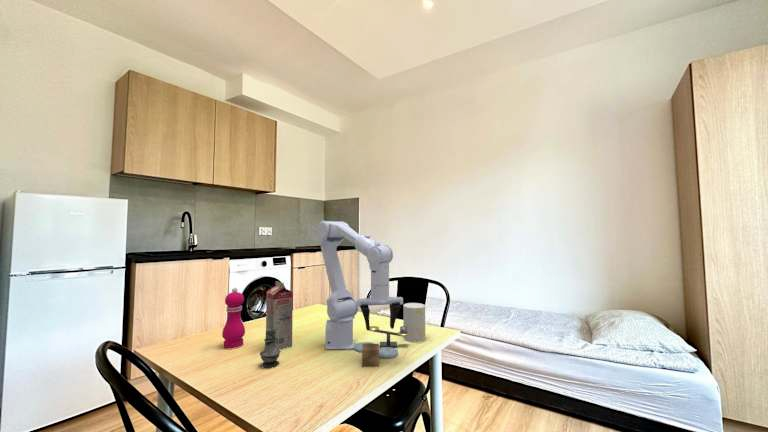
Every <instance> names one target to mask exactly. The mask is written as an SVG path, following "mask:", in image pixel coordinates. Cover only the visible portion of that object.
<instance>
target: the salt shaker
mask: <svg viewBox="0 0 768 432" xmlns="http://www.w3.org/2000/svg"><path fill="white" fill-rule="evenodd" d="M275 334H276V329H275V328H274V327H272V324H270V327H268V328H267V329H266V328H265V338H264V342H265V343H264V346H265V347H264V349H263V350H262V351H261V352H260V353H259V356H260V358H261V360H262V363H260V367H261V366H262V367H263V369H273V368H275V366H276V367H278V366H279V365H280V361H278V359H279V357H280V353H281V352H282V351H281V350H279V349H276V340H277V338H275ZM277 365H278V366H277ZM262 367H261V368H262ZM272 367H273V368H272Z"/></svg>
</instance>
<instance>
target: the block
mask: <svg viewBox="0 0 768 432" xmlns="http://www.w3.org/2000/svg"><path fill="white" fill-rule="evenodd" d="M379 348H380V343H374V344H363V345H362V353H361V368H379V367H380V360H379V359H380V358H379Z"/></svg>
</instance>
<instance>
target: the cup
mask: <svg viewBox="0 0 768 432" xmlns="http://www.w3.org/2000/svg"><path fill="white" fill-rule="evenodd" d="M402 305H403V307H402V308H403V309H402V310H403V315H402V316H403V322H402V323H403V325H402V326H406V327H407V332H409V336H404V337H403V339H404V340H405V341H407V342H410V343H411V342H413V343H419V342H423V341H425V340H426V305H425V304H423V303H421V302H420V303H419V302H407V303H403V304H402Z"/></svg>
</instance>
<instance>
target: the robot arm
mask: <svg viewBox="0 0 768 432" xmlns="http://www.w3.org/2000/svg"><path fill="white" fill-rule="evenodd" d="M316 234H317V237H318V242H319V246H320V250H321V254H322V258H323V263H324V266H325V267H324V268H325V270H326V275H327V280H328V284H329V288H330V293H331V294H330V295H329V296H328V298H327V299H326V306H327V307H326V313H327V316H328V318H329V319H326V322H325V333H324V334H325V339H324V341H325V344H324V345H325V346H324V350H354V345H355V341H356V340H355V339H354V319H355V317H356V315H357V314H358V310H359V308H360V310H361V313H362V316H363V319H364V323H365V329H366V331H369V329H370V312H371V309H370V306H371V307H372V306H384V305H385V306H387V305H388V306H389V327H390V329H391V330H392V329H394V328H395V324H396V320H397V317H398V314H399V313H400V311H401V308H402V307H401V306H402V305H404V298H403V297H402V296H390V263H391V262H392V260H393V257H394V254H393V250H392V248H391V246H389V245H387V244H386V245H385V244H384V245H381V243H380V242H379V241H375V240H374V239H373V238H371V235H370V234H362V235H360V234H359V233H358V232H357V231H355V230H354V229H353V228H352V227H350V226H349V224H348V223H347V222H345V221H326V220H322V221H320V223H319V224H318V227H317V230H316ZM344 239H345V240H347V241H349V242H350V243H352V244H353V245H354V249H355V250H356V251H358V253H359V252H360V254H362V255H364V256H365V257H366V259H367V261H368V264H369V270H370V297H363V298H356V299H355V297H354V294H353V292H351V291H349V290H348V289H347V286H346V282H345V279H344V274H343V271H342V270H343V269H342V266H341V262H340V258H339V255H338V250H337V248H338V246H340V245H341V244H342V242H343V241H344Z"/></svg>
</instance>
